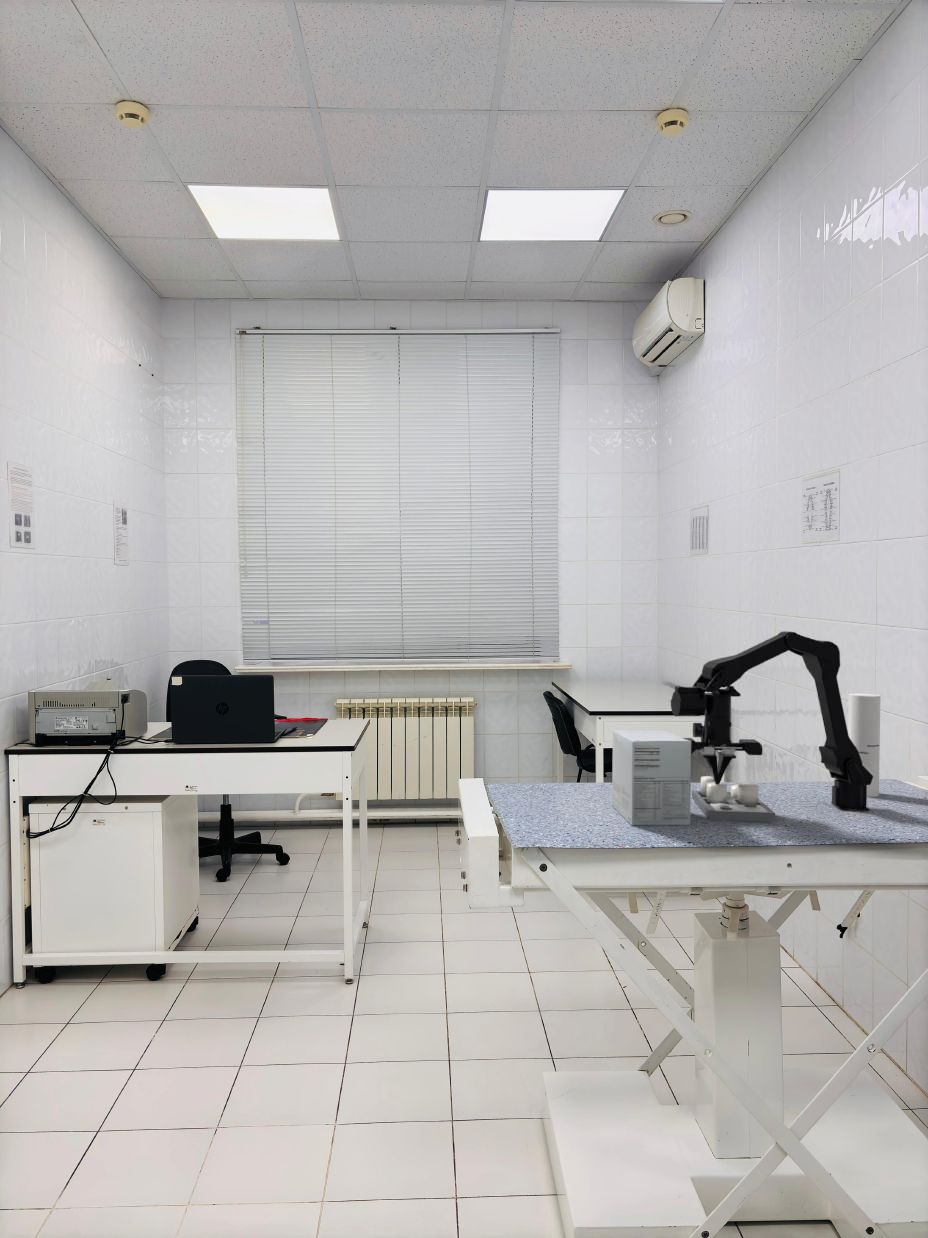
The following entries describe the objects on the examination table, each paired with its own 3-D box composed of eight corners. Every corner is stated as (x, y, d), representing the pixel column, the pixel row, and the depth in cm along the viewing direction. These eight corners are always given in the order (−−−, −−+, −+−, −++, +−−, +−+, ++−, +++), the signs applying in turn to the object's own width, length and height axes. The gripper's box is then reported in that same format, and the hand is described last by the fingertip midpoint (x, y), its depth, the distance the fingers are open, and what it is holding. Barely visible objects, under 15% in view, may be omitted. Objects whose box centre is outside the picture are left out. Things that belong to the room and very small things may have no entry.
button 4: (755, 800, 187) (755, 783, 187) (760, 805, 182) (760, 787, 182) (735, 800, 187) (736, 783, 187) (740, 804, 183) (740, 787, 183)
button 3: (747, 802, 194) (747, 785, 194) (752, 806, 189) (752, 789, 189) (728, 801, 194) (728, 784, 194) (733, 805, 190) (733, 788, 190)
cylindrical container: (884, 797, 201) (885, 696, 200) (855, 796, 201) (857, 696, 200) (870, 790, 208) (871, 693, 208) (842, 790, 208) (843, 693, 208)
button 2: (724, 799, 187) (724, 782, 187) (728, 804, 183) (728, 786, 183) (704, 799, 188) (705, 782, 188) (708, 803, 183) (708, 786, 183)
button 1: (717, 793, 194) (717, 776, 194) (721, 797, 190) (721, 780, 190) (698, 792, 195) (699, 776, 195) (702, 796, 190) (702, 779, 190)
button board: (751, 800, 195) (751, 790, 195) (775, 822, 175) (775, 811, 175) (691, 798, 197) (692, 789, 197) (708, 820, 177) (709, 809, 177)
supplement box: (692, 826, 172) (693, 741, 171) (630, 826, 171) (631, 741, 171) (666, 806, 189) (667, 729, 189) (610, 807, 188) (611, 729, 188)
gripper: (750, 712, 192) (749, 777, 192) (670, 710, 194) (669, 775, 194) (763, 718, 181) (762, 788, 181) (678, 716, 183) (677, 785, 183)
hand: (717, 784), depth 185 cm, fingers closed
